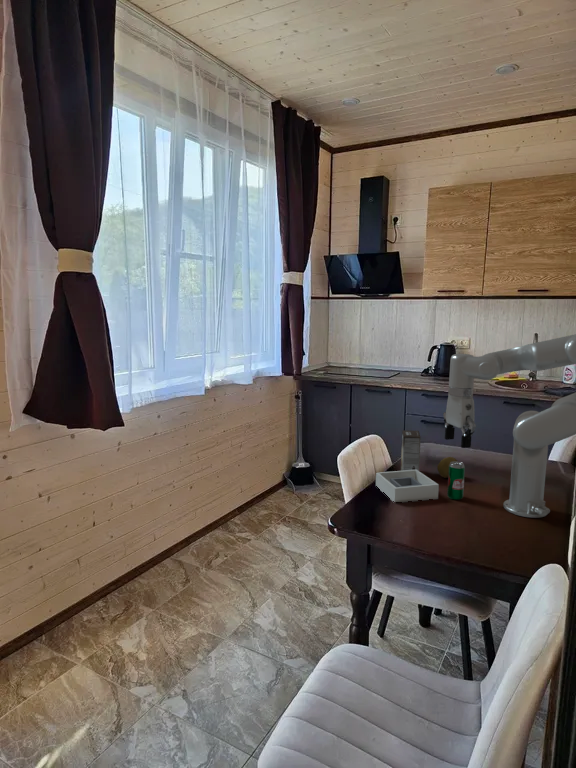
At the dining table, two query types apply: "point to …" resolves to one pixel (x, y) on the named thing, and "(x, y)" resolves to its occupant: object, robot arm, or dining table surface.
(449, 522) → the dining table surface
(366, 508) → the dining table surface
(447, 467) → the potato
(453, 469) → the soda can
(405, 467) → the coffee box
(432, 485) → the walled box
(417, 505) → the dining table surface
